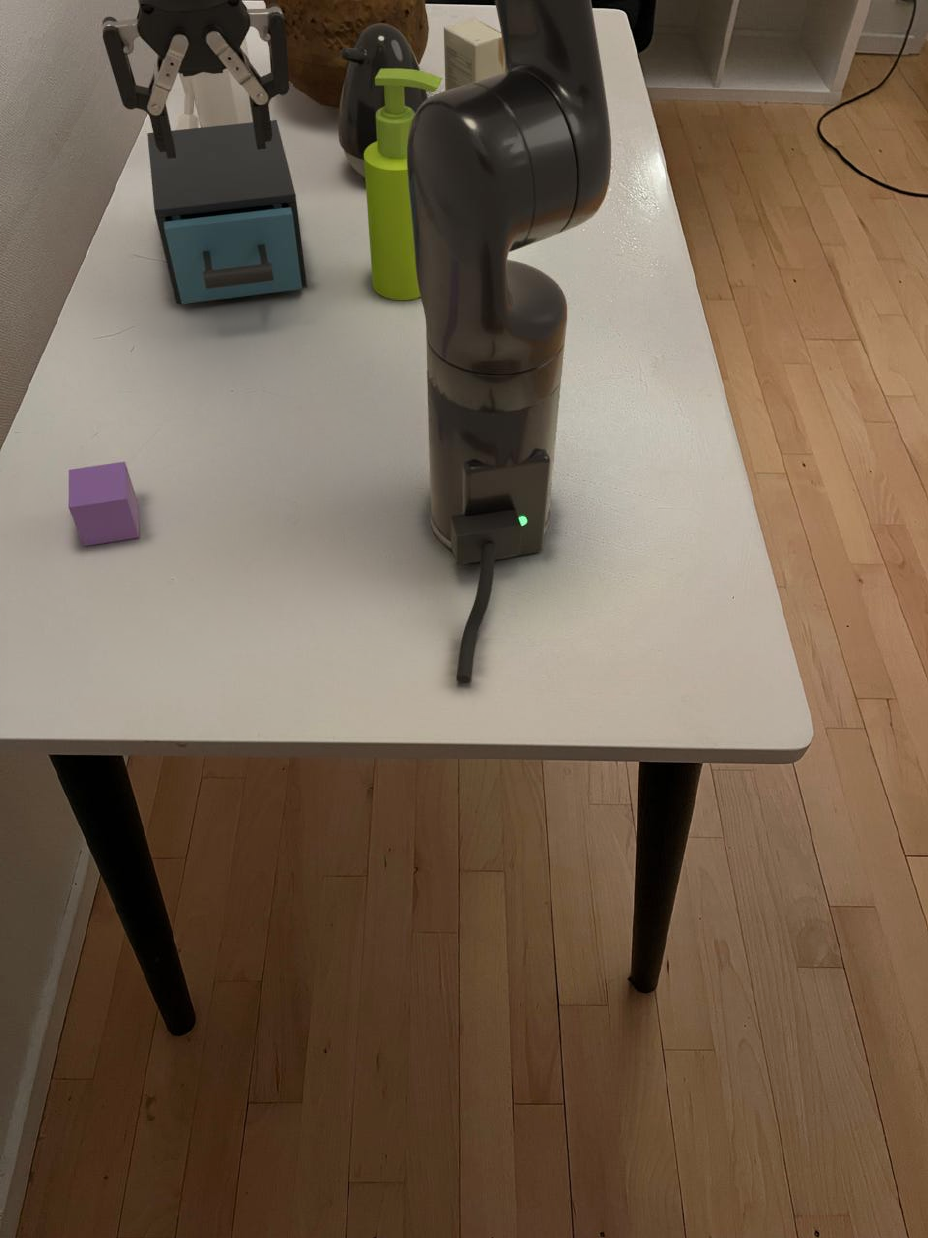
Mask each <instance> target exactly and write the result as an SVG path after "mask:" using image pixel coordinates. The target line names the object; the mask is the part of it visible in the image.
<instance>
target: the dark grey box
mask: <svg viewBox="0 0 928 1238" xmlns="http://www.w3.org/2000/svg"><path fill="white" fill-rule="evenodd" d="M270 121H271V128H272V138H271V141H267V142H265V145H266V149H259V150H258V149H257V144H256V139H255V133H254V126H253V122H251V123H241V124H232V125H222V126H212V127H202V128H201V127H198V128H193V129H183V130H176V129H173V130H171V131H172V136H173V141H174V145H175V152H176V158H170V159H168V158H167V154H166V152H160V151H159V150H158V148H157V147H156V143H155V138H154V134H153V132H147V134H146V135H147V145H148V156H149V167H150V176H151V178H150V179H151V190H152V200H153V211H154V215H155V219H156V223H157V228H158V232H159V237H160V242H161V245H162V248H163V253H164V257H165V261H166V266H167V270H168V274H169V278H170V283H171V286H172V291H173V295H174V299H175V303H176V304H179V303H181V298H180V294H179V290H178V285H177V281H176V277H175V273H174V268H173V264H172V260H171V255H170V251H169V247H168V243H167V238H166V234H165V230H164V222H167V221H172V217H171V216H177V215H186V214H195V213H203V212H212V211H221V210H229V209H238V208H247V207H256V206H264V205H273V204H282V208H288V207H291V210H292V214H293V222H294V230H295V237H296V245H297V253H298V261H299V268H300V276H301V284H302V288H306V287H308V284H307V275H306V274H307V273H306V267H305V260H304V259H305V258H304V251H303V243H302V236H301V228H300V218H299V211H298V204H297V203H298V202H297V195H296V192H295V187H294V183H293V180H292V175H291V170H290V168H289V163H288V159H287V156H286V152H285V149H284V143H283V139H282V137H281V131H280V128H279V123H278V120H276V119H270ZM181 304H182V303H181Z"/></svg>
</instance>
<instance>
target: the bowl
mask: <svg viewBox="0 0 928 1238" xmlns="http://www.w3.org/2000/svg"><path fill="white" fill-rule="evenodd" d="M263 3H264V5H265V9H267V6H268V5H269V4H271V3H276V4H278V5H279V6H280V7H281V10H282V13H283V16H284V20H285V24H286V40H287V56H288V72H289V84H291V85H292V87H294V89H296V90H297V91H299V92H300V93H302V94H304V95H305V96H306V97H308V98H310V99H311V101H314V103H317V104H319V105H320V106H324V107H329V108H335V109H339V106H340V96H341V90H342V84H343V79H344V74H345V70H346V66H347V62H348V60H344V59H342V57H341V50H342V49H343V48H352V47H353V45H354V43H355V41H356V39H357V37H358V36H359V34H360V33H361V32H362V31H363V30H364V29H365V28H366V27H368V26H370V25H372V24H375V23H386V24H390V25H392V26H394V27H396V28H397V29H398V30H399V31H400V32H401V33H402V34H403V35H404V37H405V38H406V40H407V41H408V43H409V45H410V47H411V49H412V51H413V53H414V55H415V57H416V60H417V62H418V65H419V66H420V64H421V62H422V59H423V57H424V55H425V52H426V49H427V46H428V42H429V41H428V40H429V31H430V25H429V17H428V12H427V8H426V0H263ZM267 46H268V47H269V42H267Z"/></svg>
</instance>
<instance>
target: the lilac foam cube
mask: <svg viewBox="0 0 928 1238" xmlns="http://www.w3.org/2000/svg"><path fill="white" fill-rule="evenodd" d="M135 491H136V490H135V488H134V485H133V482H132V479H131V476H130V472H129V470H128V466H127V464H126V462H125V461H120V462H113V463H112V462H111V463H106V464H99V465H92V466H85V467H79V468H78V467H77V468H71V469H68V509H69V512H70V515H71V517H72V520H73V522H74V525H75V527H76V530H77V532H78V535H79V537H80V540H81V542H82V545H83V546H84V547H88V546H95V545H102V544H107V543H114V542H115V543H116V542H120V541H126V540H133V539H138V538H140V521H139V519H140V518H139V502H138V498H137V495H136V492H135Z"/></svg>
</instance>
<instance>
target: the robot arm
mask: <svg viewBox="0 0 928 1238" xmlns="http://www.w3.org/2000/svg"><path fill="white" fill-rule="evenodd" d="M137 1H138V12H137V16H136V18H131V19H126V20H125V19H124V20H117V19H116V18H115V17H113V16H105V17H104V18H103V19H102V23H101V25H102V40H103V43H104V46H105V50H106V53H107V57H108V60H109V63H110V67H111V70H112V74H113V76H114V80H115V83H116V86H117V90H118V93H119V96H120V100H121V104H122V106H123V107H124V108H125V109H127V110H131V111H132V110H135V109H138V110H142V111H144V112H146V114H147V115H148V116H149V121H150V125H151V130H152V133H153V134H154V138H155V143H156V147H157V148H158V150H159V151H160V152H166V154H167V158H168V159H170V158H176V152H175V145H174V141H173V136H172V131H173V130H172V126H171V122H170V117H169V112H168V107H167V100H168V97H169V95H170V92H171V91H172V90H173V88H174V84H175V81H176V79H177V76H178V75H179V73H180V74H183V77H186V76H194V75H196V74H199V73H202V72H206V73H211V74H217V73H223V70H225V69H226V68H227V69H228V70H229V71H230V73H231V74H232V75H233V77H234V78H235V79H236V80H237V82H238V83H239V84H240V85H242V86H243V87H244V89H245V90H246V91H247V93H248V94H249V100H250V106H251V113H252V120H253V126H254V133H255V139H256V144H257V149H258V150H259V149H266V145H265V142H267V141H271V138H272V128H271V121H270V120H271V114H270V108H269V107H270V106H269V104H270V101H271V100H272V99H273V98H275V97H277V96H278V95H279V96H285V95H286V94H288V93H289V92H290V82H289V72H288V56H287V40H286V24H285V20H284V16H283V13H282V10H281V7H280V6H279V5H278V4H276V3H271V4H269V5H268V6H267V9H266V8H248V7H247V6H246V4H245V3H244V1H243V0H137ZM494 5H495V8H496V13H497V18H498V23H499V28H500V32H501V34H502V41H503V48H504V57H505V73H503V74H500V75H496V76H493V77H490V78H486V79H483V80H480V81H476V82H473V83H469V84H467V85H463V86H460V87H456V88H453V89H450V90H447V91H445V90H444V91H441V92H439V93H436V94H433V95H431V96H428V98H427V99H426V100H425V101H424V102H423V103H422V104H420V106H419V107H418V109H417V111H416V112H415V114H414V117H413V119H412V122H411V126H410V130H409V136H408V145H407V172H408V186H409V196H410V206H411V216H412V226H413V238H414V250H415V265H416V275H417V282H418V287H419V292H420V296H421V297H420V301H421V304H422V308H423V313H424V318H425V332H426V333H425V334H426V335H425V336H426V337H425V338H426V341H425V342H426V383H427V384H426V385H427V386H426V387H427V419H428V420H427V421H428V422H427V423H428V456H429V457H428V458H429V486H430V504H429V522H430V525H431V528H432V531H433V533H434V534H435V535H436V537H437V538H438V539H439V540H440V542H441V543H442V544H443V545H445V546H446V547H447V548H449V549H450V550H451V551H452V553H453V557H454V560H455V564H456V565H457V566H460V565H465V564H466V565H470V564H471V565H472V564H477V563H479V564H480V567H479V576H478V578H479V579H478V584H477V588H476V589H477V590H476V594H475V599H474V602H473V605H472V608H471V611H470V613H469V615H468V617H467V620H466V623H465V626H464V630H463V634H462V637H461V643H460V648H459V654H458V662H457V663H458V664H457V671H456V677H455V678H456V681H457V682H458V683H460V684H463V685H466V684H470V682H471V681H472V672H473V663H474V655H475V649H476V642H477V638H478V634H479V630H480V628H481V625H482V623H483V620H484V618H485V616H486V612H487V609H488V607H489V603H490V600H491V594H492V589H493V582H494V573H495V562H496V560H502V559H503V560H504V559H509V558H513V557H518V556H523V555H529V554H536V553H540V552H542V551H543V550H544V540H545V539H544V538H545V535H546V533H547V531H548V528H549V525H550V519H551V508H550V504H551V494H552V485H553V484H552V481H553V469H554V460H555V448H556V439H557V427H558V415H559V407H560V406H559V404H560V396H561V395H560V394H561V386H562V385H561V383H562V377H563V376H562V375H563V365H564V354H565V343H566V335H567V325H568V303H567V299H566V296H565V294H564V291H563V289H562V288H561V286H559V284H558V283H557V282H556V280H554V279H553V278H552V277H551V276H550V275H548V274H547V273H545V272H544V271H542V270H540V269H538V268H536V267H534V266H532V265H529V264H526V263H524V262H521V261H516V260H513V259H512V260H511V259H508V256H509V254H510V252H513V251H516V250H519V249H522V248H524V247H527V246H529V245H533V244H536V243H538V242H541V241H543V240H546V239H549V238H551V237H554V236H556V235H559V234H562V233H565V232H567V231H569V230H571V229H572V230H573V229H574V228H577V227H578V226H581V225H583V224H584V223H586V222H587V221H589V220H590V219H592V218H593V217H594V216H595V215H596V214H597V213H598V211H599V210H600V208H601V206H602V204H603V203H604V201H605V199H606V196H607V194H608V189H609V185H610V179H611V171H612V170H611V169H612V138H611V137H612V136H611V123H610V116H609V108H608V100H607V93H606V87H605V80H604V73H603V66H602V61H601V55H600V49H599V41H598V35H597V30H596V24H595V23H596V22H595V16H594V11H593V4H592V0H494ZM251 27H252V28H255V29H256V30H257V32H258V36H259V38H260V39H261V40H262V41H264V42H266V43H268V42H269V46H268V53H269V54H268V55H269V67H270V72H269V73H266V74H265V75H264V74H263V76H261V75H260V73H259V72H258V70H257V69H256V68H255V67H254V65H253V64H252V62H251V61H250V58H249V59H248V57H247V56H246V54H245V53H244V52H243V50H242V49H241V48H240V46H241V44H242V42H243V40H244V38H245V39H246V36H247V35H248V33H249V31H250V29H251ZM138 37H140V38H141V39H142V40H143V42H145V44H146V45H148V47H149V48H150V49H151V50H152V51H153V52H154V53H155V54H156V55H157V56H156V59H155V62H154V64H153V69H152V75H151V76H150V79H149V83H148V85H147V87H146V86H142V85H138V84H137V83H136V80H135V79H136V78H135V75H134V73H133V70H132V65H131V62H130V58H129V55H131V54H132V53H133V52H134V49H135V40H136V39H137V38H138Z"/></svg>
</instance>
